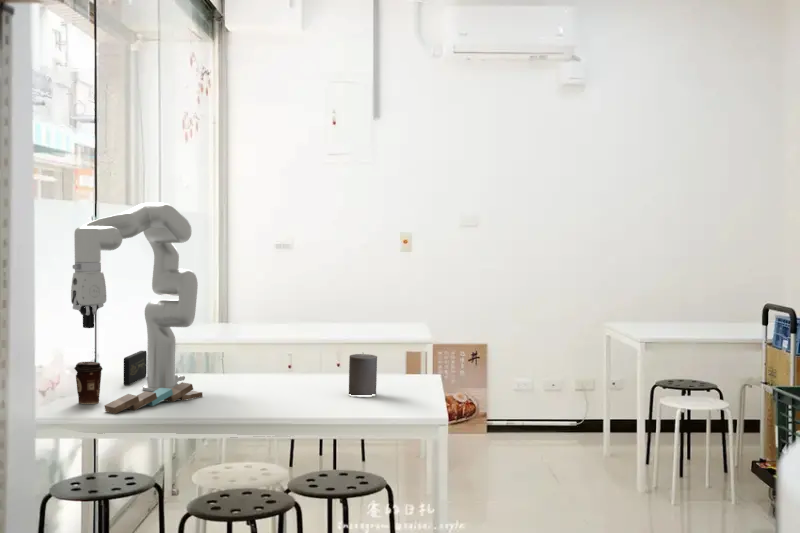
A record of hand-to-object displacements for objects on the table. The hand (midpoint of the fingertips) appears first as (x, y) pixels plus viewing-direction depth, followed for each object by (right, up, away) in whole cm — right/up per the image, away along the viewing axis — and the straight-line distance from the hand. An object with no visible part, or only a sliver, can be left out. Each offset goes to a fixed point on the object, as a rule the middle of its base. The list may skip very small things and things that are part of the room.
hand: (88, 327), depth 273 cm
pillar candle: (+82, -26, +36) cm, 93 cm away
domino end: (+21, -25, +23) cm, 40 cm away
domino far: (+7, -25, 0) cm, 26 cm away
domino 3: (+19, -25, +19) cm, 37 cm away
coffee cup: (-5, -26, +15) cm, 30 cm away
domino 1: (+11, -25, +6) cm, 28 cm away
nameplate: (-3, -24, +59) cm, 64 cm away
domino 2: (+14, -25, +13) cm, 31 cm away
